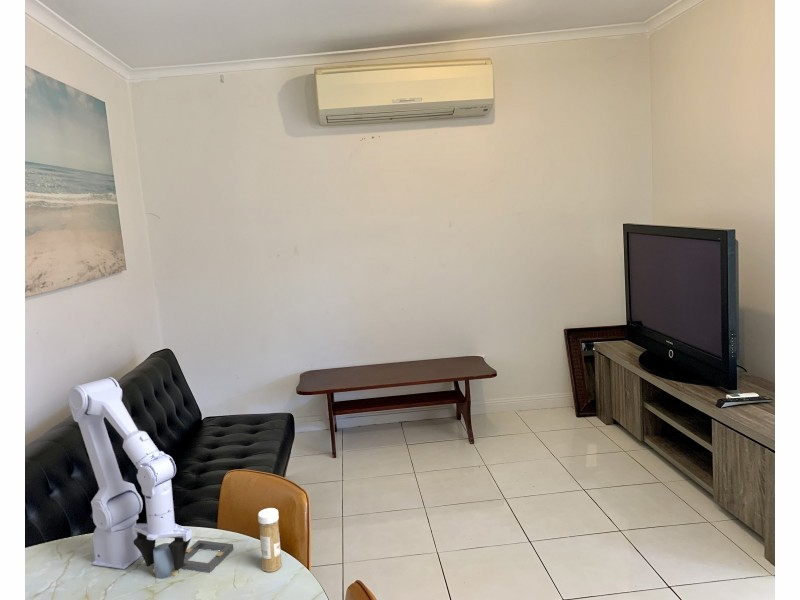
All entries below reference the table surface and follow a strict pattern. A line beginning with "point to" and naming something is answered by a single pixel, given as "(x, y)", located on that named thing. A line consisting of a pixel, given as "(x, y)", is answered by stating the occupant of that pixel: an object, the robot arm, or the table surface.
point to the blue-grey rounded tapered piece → (163, 562)
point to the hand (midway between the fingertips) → (165, 566)
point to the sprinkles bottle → (270, 539)
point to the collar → (210, 566)
